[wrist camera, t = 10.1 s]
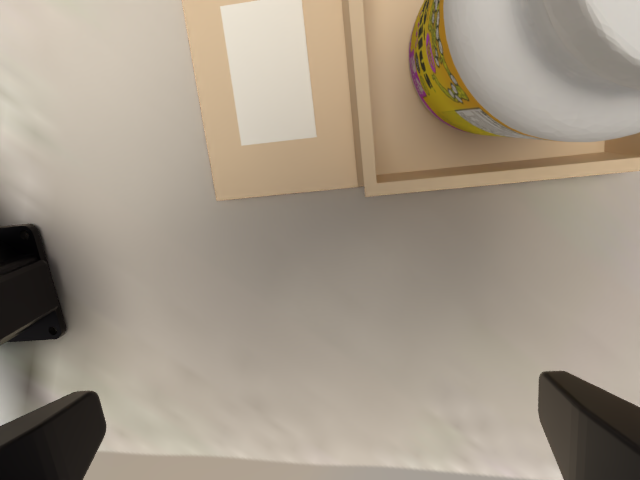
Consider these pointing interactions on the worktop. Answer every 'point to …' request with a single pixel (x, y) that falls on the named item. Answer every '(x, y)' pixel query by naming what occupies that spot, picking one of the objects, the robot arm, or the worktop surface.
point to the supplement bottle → (530, 67)
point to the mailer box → (347, 107)
